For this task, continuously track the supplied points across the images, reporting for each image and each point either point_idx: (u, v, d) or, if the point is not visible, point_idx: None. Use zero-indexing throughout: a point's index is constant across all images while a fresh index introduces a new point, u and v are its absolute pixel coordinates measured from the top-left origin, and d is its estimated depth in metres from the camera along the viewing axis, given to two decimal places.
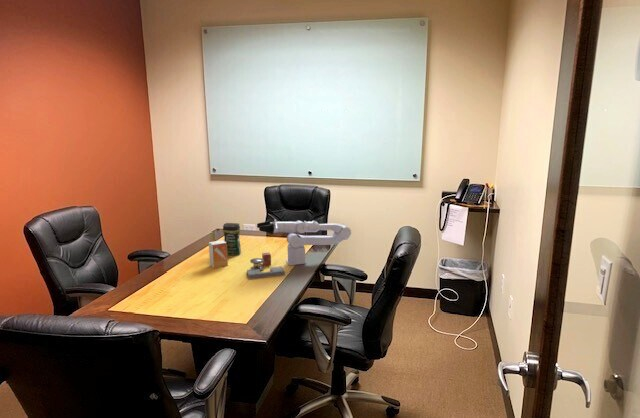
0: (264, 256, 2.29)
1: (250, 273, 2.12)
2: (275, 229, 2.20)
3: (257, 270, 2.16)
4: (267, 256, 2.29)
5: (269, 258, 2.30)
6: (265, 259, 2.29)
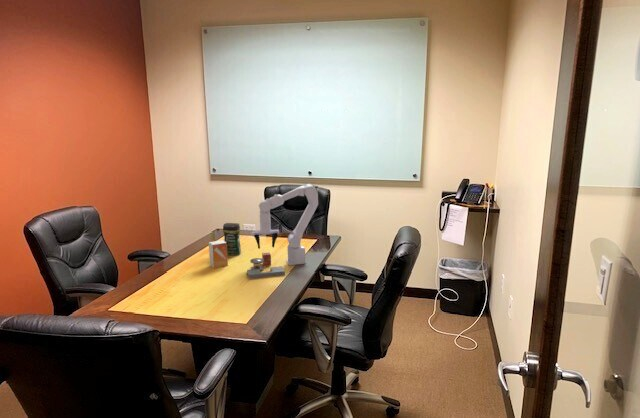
0: (264, 256, 2.29)
1: (250, 273, 2.12)
2: (252, 234, 2.27)
3: (257, 270, 2.16)
4: (267, 256, 2.29)
5: (269, 258, 2.30)
6: (265, 259, 2.29)
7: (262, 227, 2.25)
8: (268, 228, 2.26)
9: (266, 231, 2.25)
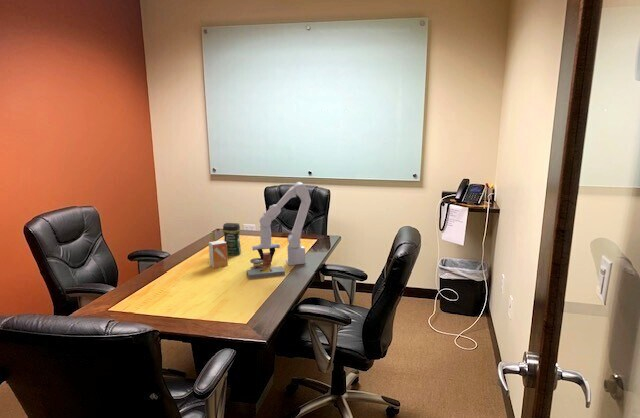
0: (264, 256, 2.29)
1: (250, 273, 2.12)
2: (252, 248, 2.28)
3: (257, 270, 2.16)
4: (267, 256, 2.29)
5: (269, 258, 2.30)
6: (265, 259, 2.29)
7: (263, 242, 2.27)
8: (268, 243, 2.27)
9: (267, 246, 2.27)
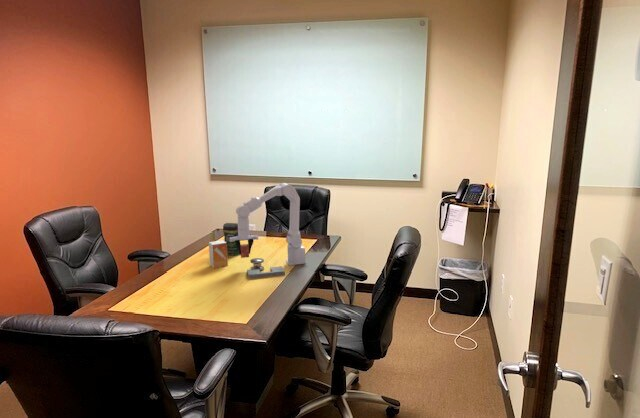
0: (242, 248, 2.20)
1: (250, 273, 2.12)
2: None
3: (257, 270, 2.16)
4: (245, 248, 2.20)
5: (247, 250, 2.21)
6: (243, 251, 2.20)
7: (240, 233, 2.18)
8: (246, 234, 2.19)
9: (244, 237, 2.18)
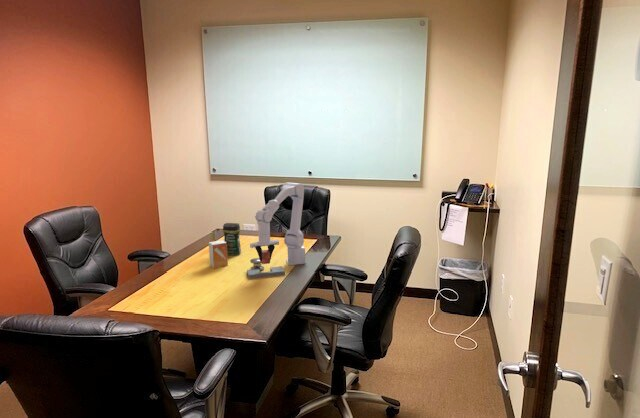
0: (263, 254, 2.13)
1: (250, 273, 2.12)
2: (250, 246, 2.12)
3: (257, 270, 2.16)
4: (266, 254, 2.13)
5: (268, 256, 2.14)
6: (264, 257, 2.13)
7: (261, 238, 2.11)
8: (268, 239, 2.11)
9: (266, 242, 2.11)
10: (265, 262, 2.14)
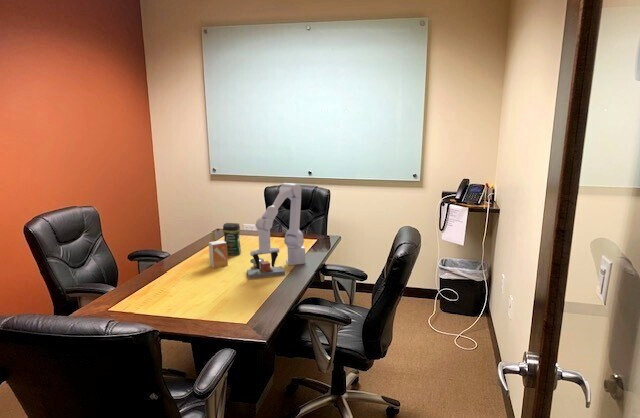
0: (263, 265, 2.14)
1: (250, 273, 2.12)
2: (250, 254, 2.12)
3: (257, 270, 2.16)
4: (266, 265, 2.14)
5: (269, 267, 2.15)
6: (264, 268, 2.14)
7: (262, 246, 2.11)
8: (268, 247, 2.12)
9: (266, 250, 2.12)
10: None
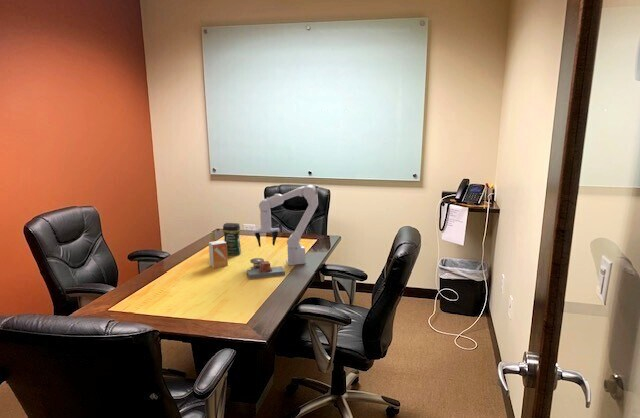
0: (263, 265, 2.14)
1: (250, 273, 2.12)
2: None
3: (257, 270, 2.16)
4: (266, 265, 2.14)
5: (269, 267, 2.15)
6: (264, 268, 2.14)
7: (263, 225, 2.29)
8: (269, 226, 2.29)
9: (267, 229, 2.29)
10: None
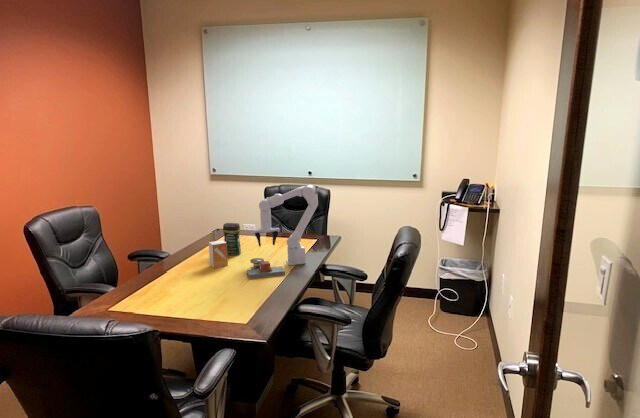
0: (263, 265, 2.14)
1: (250, 273, 2.12)
2: None
3: (257, 270, 2.16)
4: (266, 265, 2.14)
5: (269, 267, 2.15)
6: (264, 268, 2.14)
7: (263, 225, 2.29)
8: (269, 226, 2.30)
9: (267, 229, 2.29)
10: None
